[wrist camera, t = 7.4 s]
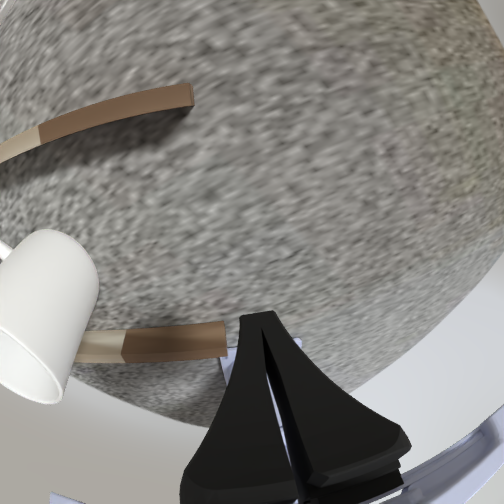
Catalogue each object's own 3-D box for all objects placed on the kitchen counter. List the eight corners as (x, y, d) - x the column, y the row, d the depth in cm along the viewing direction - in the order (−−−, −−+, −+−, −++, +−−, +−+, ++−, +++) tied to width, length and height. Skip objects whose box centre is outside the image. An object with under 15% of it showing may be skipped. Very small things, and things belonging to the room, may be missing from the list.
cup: (82, 322, 21) (51, 415, 13) (-11, 251, 16) (-68, 322, 7) (118, 267, 19) (77, 378, 10) (8, 179, 14) (-79, 244, 5)
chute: (225, 330, 24) (228, 356, 21) (58, 339, 22) (49, 360, 19) (193, 86, 14) (188, 82, 11) (-17, 157, 12) (-40, 168, 9)
